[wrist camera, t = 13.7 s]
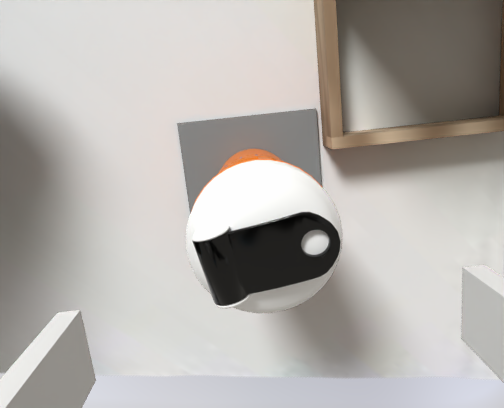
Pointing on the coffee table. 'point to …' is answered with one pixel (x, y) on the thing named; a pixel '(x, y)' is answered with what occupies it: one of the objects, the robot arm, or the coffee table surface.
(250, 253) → the shaker bottle
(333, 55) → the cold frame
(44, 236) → the coffee table surface
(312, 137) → the slate coaster
